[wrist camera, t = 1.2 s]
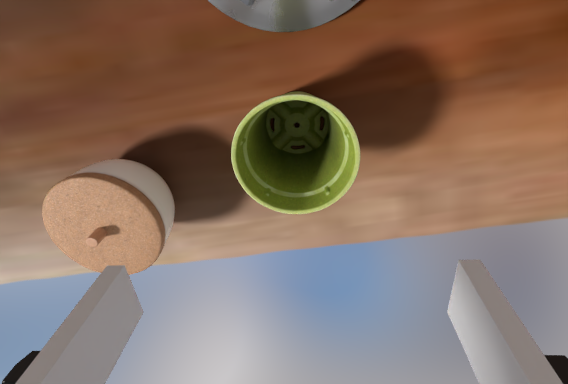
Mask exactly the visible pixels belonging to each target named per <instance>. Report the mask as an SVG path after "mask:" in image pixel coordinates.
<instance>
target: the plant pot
mask: <svg viewBox="0 0 568 384" xmlns="http://www.w3.org/2000/svg"><path fill="white" fill-rule="evenodd" d="M291 100H300V101H291ZM321 116H322V117H323V118H324V128H323V130H322V131H321V130H320V117H321ZM271 118H274V130H275V131H274V132H273V131H272V129H271V126H270V120H271ZM295 123H299V124H300V126H299V127H298V128H296V127H295V126H294V124H295ZM303 145H304V146H305V147H304V148H303V149H292V148H291V146H303ZM231 160H232V165H233V170H234V172H235V175H236V178H237V179H238V181H239V183H240V185H241V186H242V187H243V189H244V190H245V191H246V193H247V194H248V195H249V196H250V197H252V198H253V199H254V200H255V201H257V202H258V203H259V204H261V205H263V206H265V207H267V208H270V209H272V210H275V211H278V212H281V213H286V214H306V213H311V212H315V211H319V210H322V209H324V208H327V207H328V206H330V205H331V204H333V203H335V202H336V201H338V200H339V199H340V198H341V197H342V196H343V195H344V194H345V193H346V192H347V191H348V190H349V189H350V187H351V186H352V184H353V182H354V180H355V178H356V176H357V173H358V169H359V165H360V146H359V142H358V138H357V135H356V132H355V130H354V128H353V126H352V125H351V123H350V121H349V120H348V119H347V117H346V116H345V115H344V114H343V113H342V112H341V111H340V110H339V109H338V108H336V107H335V106H334V105H332V104H331V103H329V102H327V101H325V100H323V99H321V98H318V97H315V96H313V95H311V94H309V93H306V92H299V91H296V92H289V93H286V94H284V95H281V96H277V97H273V98H271V99H268V100H266V101H264V102H262V103H261V104H259V105H258V106H256V107H255V108H254V109H252V110H251V111H250V112H249V113H248V114H247V115H246V116H245V118H244V119H243V120H242V121H241V123H240V124H239V126H238V128H237V130H236V132H235V134H234V138H233V141H232V148H231Z"/></svg>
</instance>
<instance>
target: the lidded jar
mask: <svg viewBox="0 0 568 384" xmlns="http://www.w3.org/2000/svg"><path fill="white" fill-rule="evenodd" d="M42 215H43V221H44V225H45V228H46V230H47V232H48V234H49V236H50V237H51V239H52V240H53V242H54V243H55V244H56V245H57V246H58V248H59V249H60V250H61V251H62V252H63V253H64V254H66V255H67V256H68V257H70V258H71V259H72V260H74V261H75V262H77V263H79V264H80V265H82V266H84V267H86V268H89V269H91V270H94V271H96V272H100V273H102V272H103V270H104V269H105V268H106V266H112V265H125V267H126V270H127V272H128V275H130V274H133V273H138V272H140V271H143V270H145V269H147V268H148V267H150V266H151V265H152V264H153V263H154V262H155V261H156V260H157V258H158V256H159V255H160V253H161V251H162V249H163V246H164V244H165V242H166V240H167V239H168V237H169V234H170V231H171V229H172V226H173V222H174V216H175V205H174V199H173V196H172V193H171V191H170V189H169V187H168V185H167V183H166V182H165V181H164V180H163V178H162V177H161V176H160V175H159V174H158V173H156V172H155V171H154V170H152V169H151V168H149V167H147V166H146V165H143V164H141V163H139V162H135V161H131V160H125V159H110V160H103V161H100V162H97V163H94V164H91V165H89V166H86V167H84V168H82V169H81V170H79V171H77V172H75V173H74V174H72V175H71V176H69V177H67V178H65V179H63V180H62V181H60V182H58V183H57V184H56V185H54V186H53V187H52V188H51V189H50V190H49V192H48V193H47V195H46V196H45V199H44V202H43V208H42Z"/></svg>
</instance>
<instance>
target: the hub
mask: <svg viewBox="0 0 568 384" xmlns="http://www.w3.org/2000/svg"><path fill="white" fill-rule="evenodd" d="M208 1H209V2H210V3H211V4H213V5H214V6H215V7H216V8H218V9H219V10H220V11H221V12H223V13H225V14H226V15H228V16H230V17H231V18H233V19H234V20H236V21H239V22H241V23H243V24H245V25H248V26H251V27H254V28H258V29H261V30H267V31H274V32H294V31H300V30H306V29H310V28H313V27H316V26H319V25H322V24H324V23H326V22H328V21H331V20H333V19H335V18H336V17H338V16H340V15H341V14H343V13H344V12H346V11H347V10H349V9H350V8H351V7H353V6H354V5H355V4H356V3H357V2H359V1H360V0H208Z"/></svg>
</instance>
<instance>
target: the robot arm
mask: <svg viewBox="0 0 568 384" xmlns="http://www.w3.org/2000/svg"><path fill="white" fill-rule="evenodd" d="M447 312H448V315H449V317H450V319H451V321H452V323H453V326H454V328H455V330H456V333H457V335H458V337H459V339H460V342H461V344H462V346H463V348H464V350H465V353H466V355H467V357H468V359H469V362H470V364H471V366H472V368H473V371H474V373H475V375H476V377H477V380H478V382H479V384H568V358H567V357H565V356H562V355H561V356H560V355H558V356H557V355H544V354H543V353H542V351H541V350H540V348H539V347H538V345H537V344H536V342H535V341H534V339H533V338H532V336H531V335H530V333H529V332H528V331H527V329H526V328H525V326H524V324H523V323H522V321H521V320H520V318H519V317H518V315H517V314H516V312H515V311H514V309H513V308H512V306H511V305H510V303H509V302H508V300H507V299H506V297H505V296H504V294H503V293H502V291H501V290H500V288H499V287H498V286H497V284H496V282H495V281H494V280H493V278H492V277H491V275H490V273H489V272H488V271H487V269H486V267H485V266H484V265H483V263H482V262H481V260H459V261H458V266H457V270H456V274H455V279H454V284H453V288H452V293H451V297H450V302H449V306H448V311H447ZM142 314H143V310H142V307H141V305H140V303H139V300H138V297H137V295H136V292H135V290H134V287H133V285H132V282H131V280H130V277H129V275H128V272H127V270H126V267H125V265H112V266H106V268H105V269H104V270H103V272H102V273H101V274H100V275H99V277H98V278H97V279H96V281H95V282H94V283H93V284H92V286H91V287H90V288H89V290H88V291H87V292H86V294H85V295H84V296H83V297H82V299H81V300H80V301H79V302H78V304H77V305H76V306H75V308H74V309H73V310H72V311H71V313H70V314H69V315H68V317H67V318H66V319H65V320H64V322H63V323H62V324H61V326H60V327H59V328H58V329H57V331H56V332H55V333H54V335H53V336H52V337H51V338H50V340H49V341H48V342H47V344H46V345H45V346H44V347H43V349H42V350H41V351H32V352H31V353H29V354H28V355H27V356H26V357H25V358H23V359H22V360H21V361H20V362H19V363H17V364H16V365H15V366H14V367H13V369H12V370H11V371H10V372H9V373H8V375H7V376H6V377H5V378H4V380H3V381H2V384H105V383H106V381H107V379H108V377H109V375H110V373H111V371H112V370H113V368H114V366H115V364H116V362H117V360H118V358H119V357H120V355H121V352H122V351H123V349H124V347H125V345H126V344H127V342H128V340H129V338H130V336H131V335H132V332H133V331H134V329H135V327H136V325H137V323H138V322H139V320H140V318H141V316H142Z"/></svg>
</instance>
